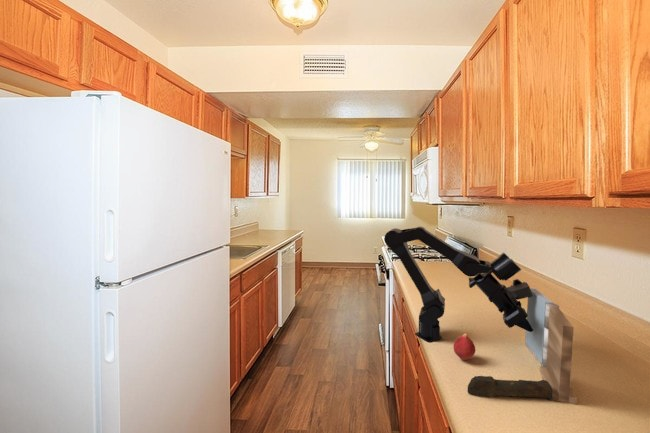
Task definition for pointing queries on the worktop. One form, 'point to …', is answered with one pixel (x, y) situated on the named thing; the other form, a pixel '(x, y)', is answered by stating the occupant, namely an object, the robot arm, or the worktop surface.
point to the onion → (464, 347)
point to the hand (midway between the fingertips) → (530, 329)
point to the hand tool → (509, 387)
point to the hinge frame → (558, 354)
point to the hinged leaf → (537, 324)
